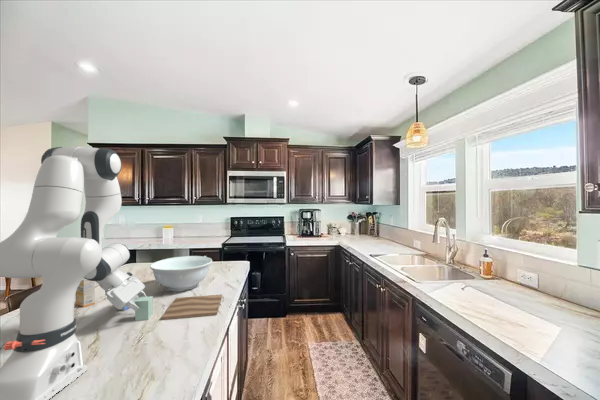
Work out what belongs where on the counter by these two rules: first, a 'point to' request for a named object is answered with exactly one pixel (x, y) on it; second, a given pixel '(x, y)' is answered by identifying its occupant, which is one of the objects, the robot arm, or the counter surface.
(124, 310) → the medicine box
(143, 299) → the green block
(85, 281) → the supplement box
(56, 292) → the robot arm
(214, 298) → the walnut board
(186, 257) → the bowl
